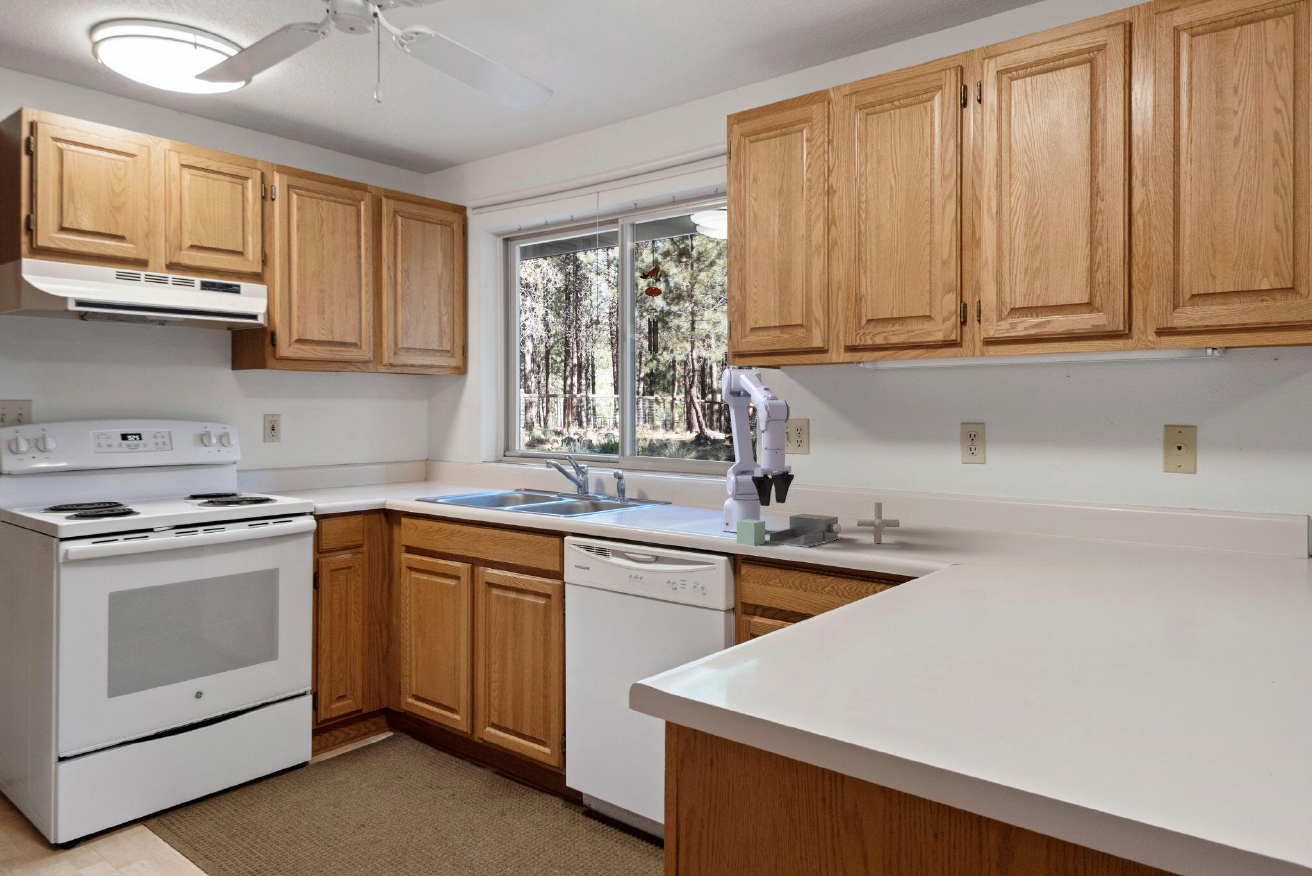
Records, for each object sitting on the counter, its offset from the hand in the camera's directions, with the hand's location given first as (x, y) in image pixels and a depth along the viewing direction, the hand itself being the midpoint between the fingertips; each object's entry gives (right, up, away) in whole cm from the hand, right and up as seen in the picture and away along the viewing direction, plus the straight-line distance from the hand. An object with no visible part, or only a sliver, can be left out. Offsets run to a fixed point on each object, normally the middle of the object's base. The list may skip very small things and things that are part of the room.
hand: (772, 504), depth 203 cm
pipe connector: (+26, -10, 0) cm, 28 cm away
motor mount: (+8, -9, +4) cm, 13 cm away
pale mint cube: (-5, -10, 0) cm, 11 cm away
